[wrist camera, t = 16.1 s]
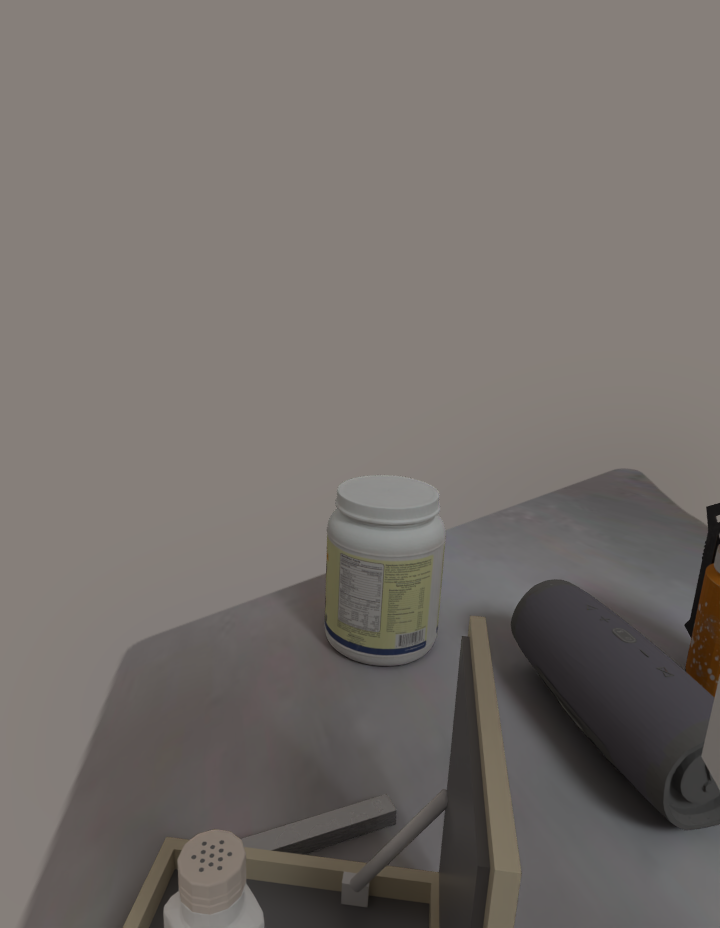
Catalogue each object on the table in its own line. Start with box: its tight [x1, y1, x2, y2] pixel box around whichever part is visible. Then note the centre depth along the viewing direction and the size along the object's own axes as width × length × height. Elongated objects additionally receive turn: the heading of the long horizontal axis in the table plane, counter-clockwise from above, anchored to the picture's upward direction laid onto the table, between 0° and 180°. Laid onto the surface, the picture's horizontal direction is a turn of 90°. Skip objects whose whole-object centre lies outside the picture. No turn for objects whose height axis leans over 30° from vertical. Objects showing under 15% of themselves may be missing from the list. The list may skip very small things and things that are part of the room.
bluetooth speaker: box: [511, 580, 720, 830], centre depth 55 cm, size 23×9×10 cm, turn 14°
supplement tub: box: [324, 475, 446, 666], centre depth 68 cm, size 12×12×17 cm
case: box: [123, 616, 521, 928], centre depth 31 cm, size 16×18×20 cm
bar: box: [241, 794, 397, 855], centre depth 45 cm, size 12×2×2 cm, turn 114°
